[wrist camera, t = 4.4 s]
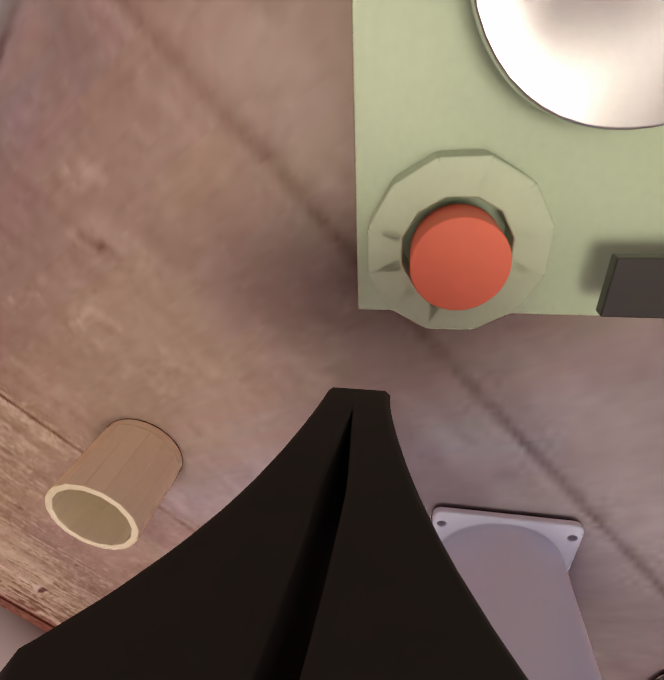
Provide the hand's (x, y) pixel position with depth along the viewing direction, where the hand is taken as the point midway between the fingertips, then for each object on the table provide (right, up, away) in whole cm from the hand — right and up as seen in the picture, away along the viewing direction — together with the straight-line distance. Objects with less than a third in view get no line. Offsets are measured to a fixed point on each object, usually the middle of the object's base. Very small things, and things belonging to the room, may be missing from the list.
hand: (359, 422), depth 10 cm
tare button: (+4, +5, +4) cm, 7 cm away
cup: (-13, -5, +16) cm, 21 cm away
